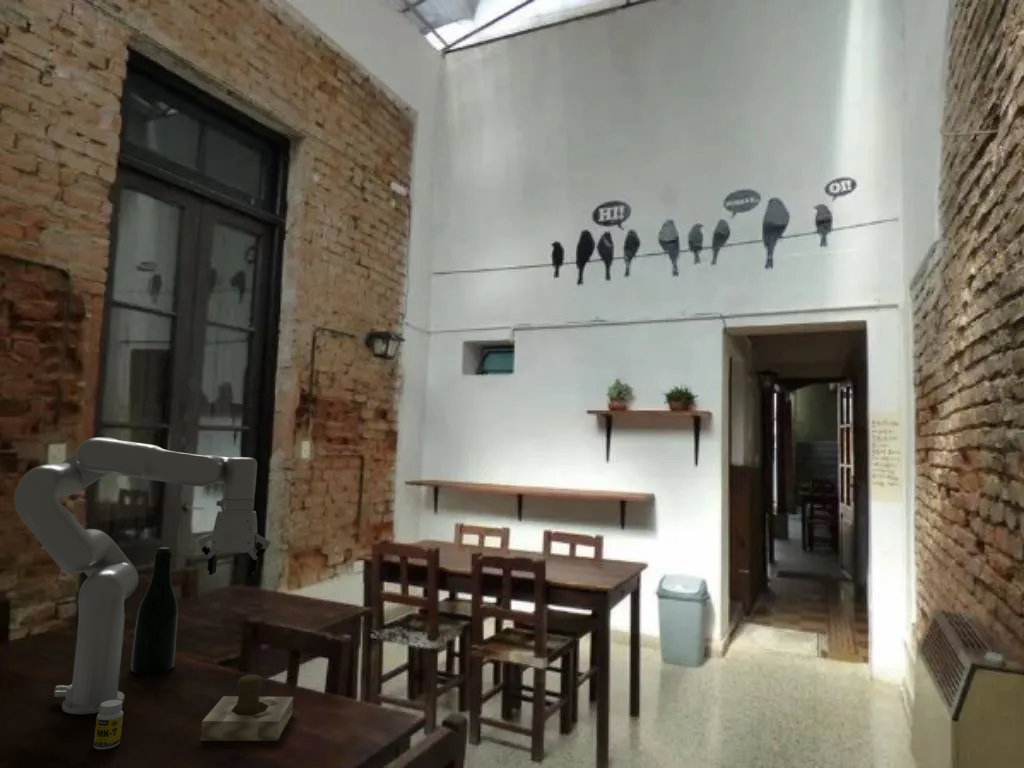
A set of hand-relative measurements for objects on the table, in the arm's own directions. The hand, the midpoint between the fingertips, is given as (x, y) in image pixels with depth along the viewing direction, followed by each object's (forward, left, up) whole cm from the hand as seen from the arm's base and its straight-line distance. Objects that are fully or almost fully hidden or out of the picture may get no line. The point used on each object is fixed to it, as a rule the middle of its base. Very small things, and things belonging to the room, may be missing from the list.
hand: (232, 574), depth 166 cm
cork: (+10, -16, -31) cm, 36 cm away
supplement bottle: (-15, -25, -31) cm, 42 cm away
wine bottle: (-25, +21, -31) cm, 45 cm away
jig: (+11, -16, -30) cm, 36 cm away
